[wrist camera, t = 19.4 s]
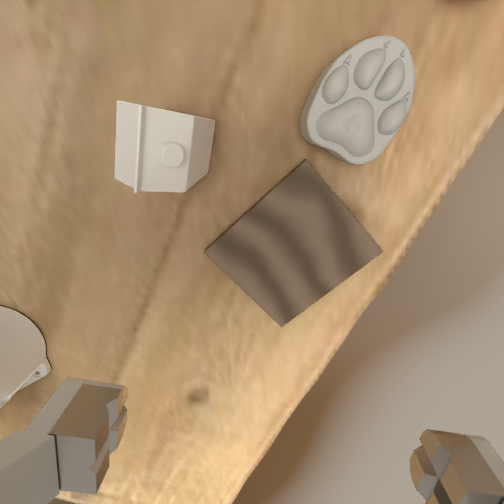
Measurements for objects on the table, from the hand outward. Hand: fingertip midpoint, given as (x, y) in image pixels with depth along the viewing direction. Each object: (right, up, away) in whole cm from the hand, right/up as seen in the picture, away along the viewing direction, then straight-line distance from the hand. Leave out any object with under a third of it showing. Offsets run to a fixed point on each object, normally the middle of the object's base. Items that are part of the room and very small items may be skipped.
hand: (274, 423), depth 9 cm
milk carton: (-10, +20, +36) cm, 42 cm away
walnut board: (+6, +5, +41) cm, 41 cm away
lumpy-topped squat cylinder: (+12, +24, +33) cm, 43 cm away
